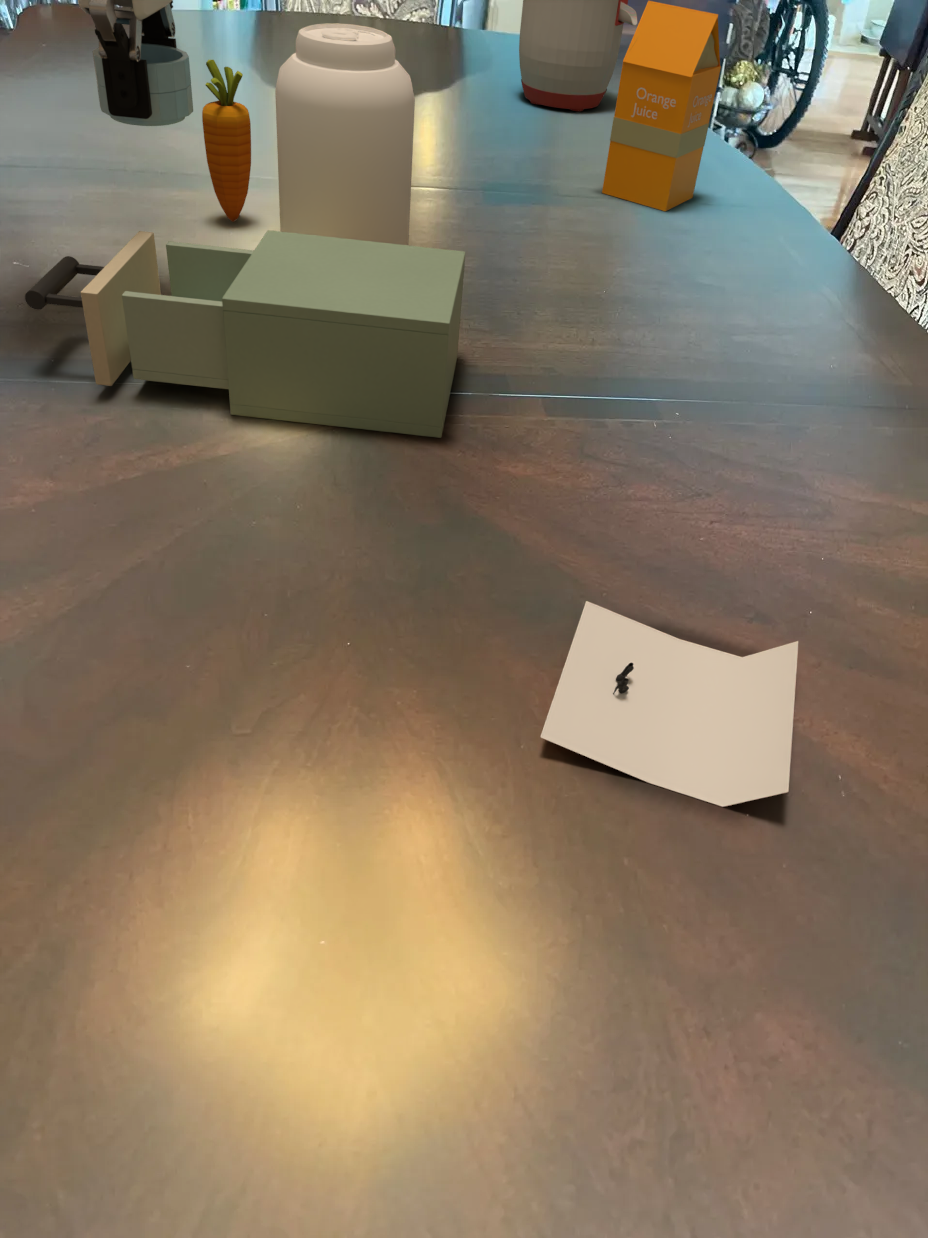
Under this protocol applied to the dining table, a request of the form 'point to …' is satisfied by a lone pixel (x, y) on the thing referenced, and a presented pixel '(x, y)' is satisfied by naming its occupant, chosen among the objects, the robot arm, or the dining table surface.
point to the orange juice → (663, 107)
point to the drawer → (152, 310)
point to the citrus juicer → (570, 49)
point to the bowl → (157, 85)
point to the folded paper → (676, 710)
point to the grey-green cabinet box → (344, 333)
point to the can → (345, 136)
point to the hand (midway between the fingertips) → (146, 101)
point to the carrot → (227, 141)
